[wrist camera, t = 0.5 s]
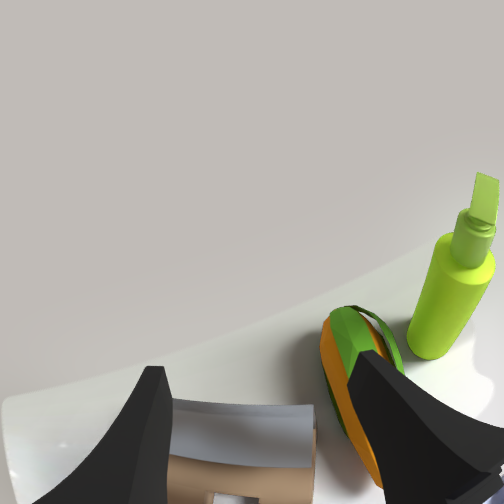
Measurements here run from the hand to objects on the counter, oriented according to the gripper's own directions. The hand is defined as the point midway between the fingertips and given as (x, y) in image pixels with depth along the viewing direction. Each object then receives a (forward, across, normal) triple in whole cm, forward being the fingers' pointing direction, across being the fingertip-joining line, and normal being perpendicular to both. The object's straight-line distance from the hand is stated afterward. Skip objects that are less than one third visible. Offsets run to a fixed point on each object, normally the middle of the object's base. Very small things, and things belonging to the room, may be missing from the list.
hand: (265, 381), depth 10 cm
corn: (+7, -13, +15) cm, 21 cm away
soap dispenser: (+11, -21, +11) cm, 26 cm away
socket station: (+2, +1, +21) cm, 21 cm away
